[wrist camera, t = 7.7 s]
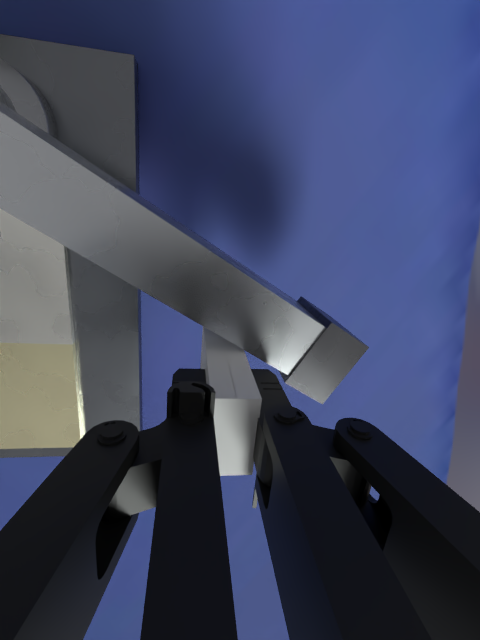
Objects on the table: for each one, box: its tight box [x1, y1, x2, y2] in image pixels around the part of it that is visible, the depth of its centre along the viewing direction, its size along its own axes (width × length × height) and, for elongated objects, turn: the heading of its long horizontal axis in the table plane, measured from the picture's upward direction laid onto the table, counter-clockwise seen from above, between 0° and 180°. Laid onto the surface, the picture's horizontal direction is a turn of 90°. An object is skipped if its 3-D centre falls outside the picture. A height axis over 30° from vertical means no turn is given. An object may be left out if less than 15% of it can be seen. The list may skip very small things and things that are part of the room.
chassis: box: [0, 34, 142, 458], centre depth 17 cm, size 12×22×2 cm, turn 175°
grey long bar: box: [0, 87, 369, 404], centre depth 13 cm, size 19×3×6 cm, turn 55°
